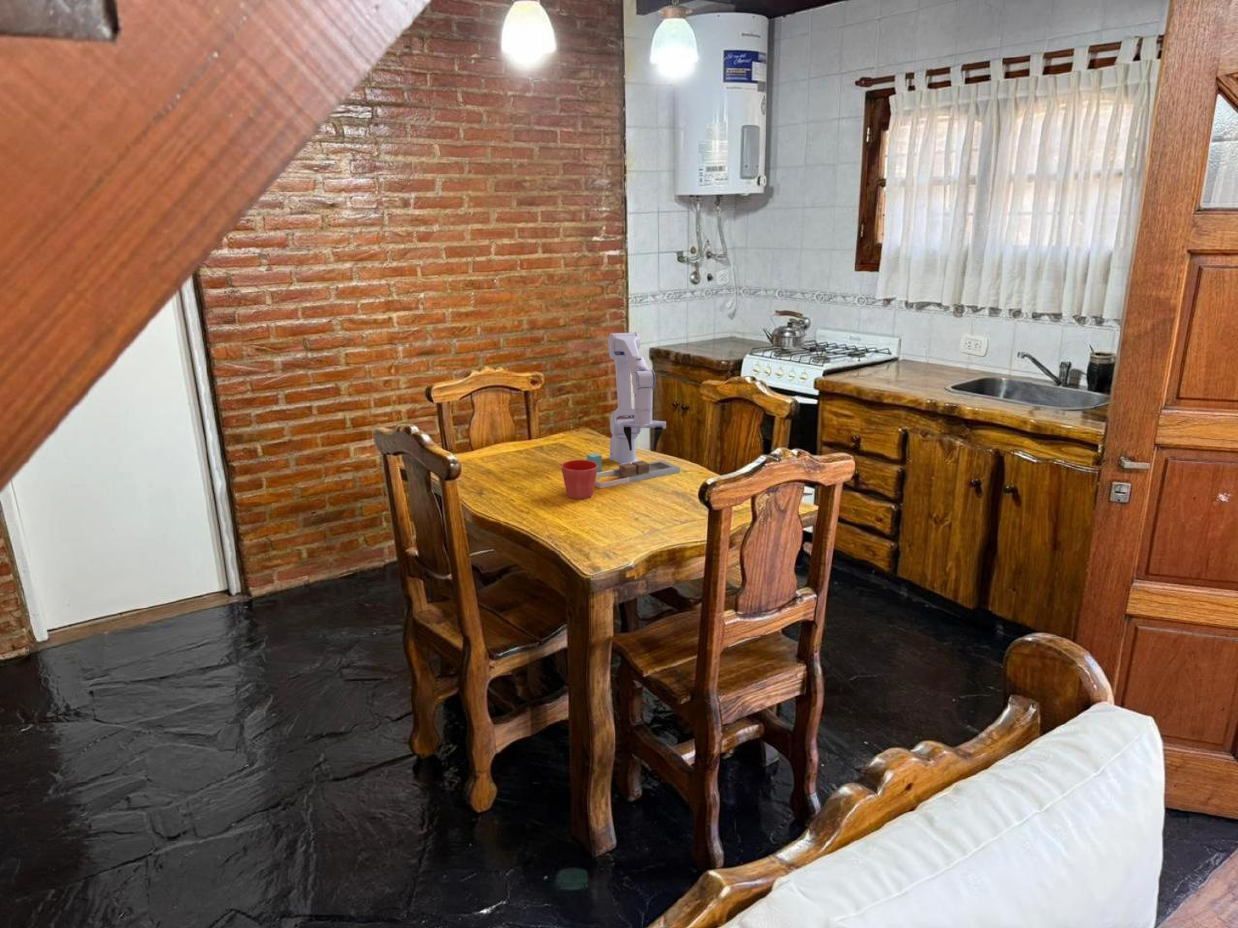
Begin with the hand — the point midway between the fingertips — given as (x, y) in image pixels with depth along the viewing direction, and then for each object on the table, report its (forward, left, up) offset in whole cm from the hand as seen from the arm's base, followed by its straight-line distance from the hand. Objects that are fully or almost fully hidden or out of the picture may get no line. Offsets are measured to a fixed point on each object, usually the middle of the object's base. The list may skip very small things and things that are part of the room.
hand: (642, 449), depth 267 cm
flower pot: (+3, -25, -10) cm, 28 cm away
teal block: (-13, -10, -10) cm, 19 cm away
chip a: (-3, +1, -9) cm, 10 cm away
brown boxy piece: (-3, -4, -9) cm, 10 cm away
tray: (-3, -12, -10) cm, 16 cm away
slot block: (-3, +4, -10) cm, 11 cm away
